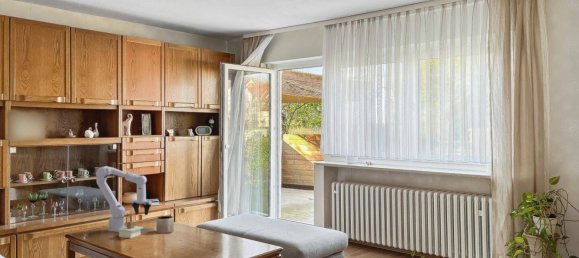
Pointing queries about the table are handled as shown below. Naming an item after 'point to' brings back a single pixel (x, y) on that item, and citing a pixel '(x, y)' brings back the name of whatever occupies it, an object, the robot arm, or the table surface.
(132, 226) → the lid
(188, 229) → the table surface
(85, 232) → the table surface
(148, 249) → the table surface
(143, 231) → the mat
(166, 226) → the planter
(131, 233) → the beige bevelled block
